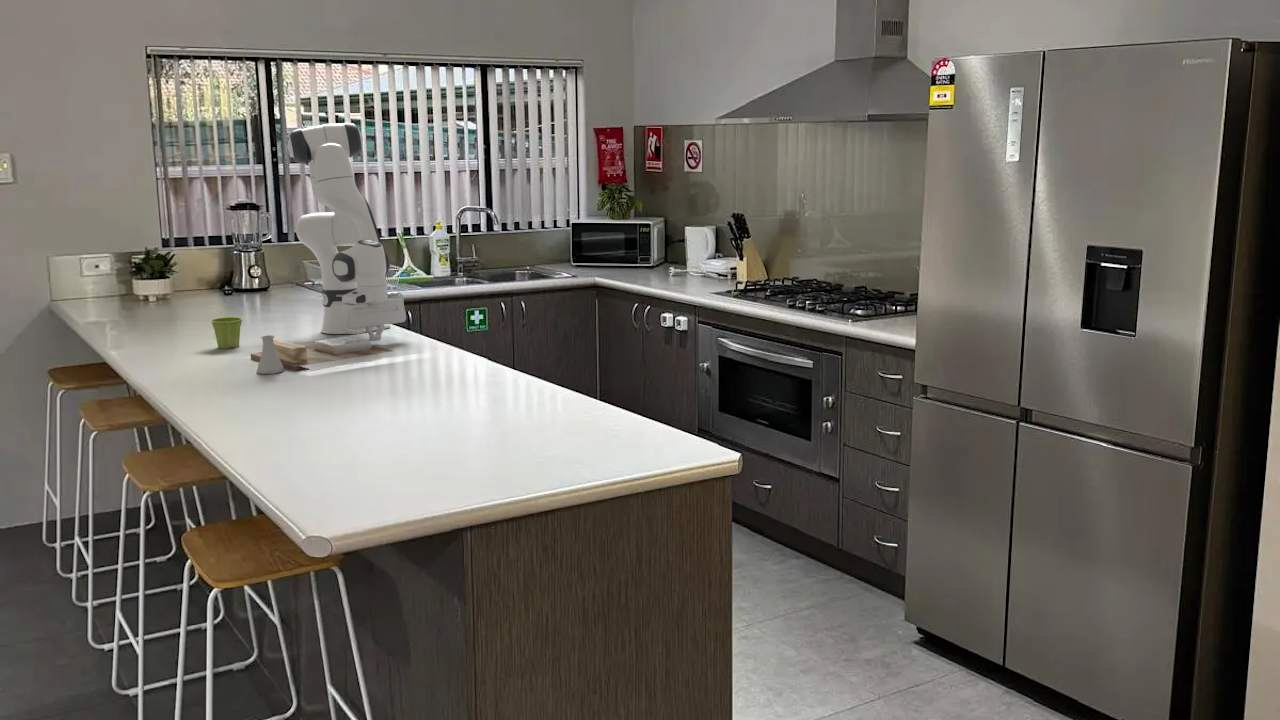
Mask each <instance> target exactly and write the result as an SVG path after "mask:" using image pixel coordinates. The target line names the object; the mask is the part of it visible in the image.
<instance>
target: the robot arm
mask: <svg viewBox="0 0 1280 720" xmlns="http://www.w3.org/2000/svg"><path fill="white" fill-rule="evenodd" d="M363 140H364V139H363V135H362V133H361V130H360V129H359V127H358V125H356V124H355V123H352V122H343V123H325V124H323V123H322V124H321V125H314V126H309V127H305V128H297V129H295V130H292V131H291V132H290V134H289V137H288V142H287V148H288V152H289V154H290V156H291V158H293V161H295V162H297V163H298V164H302V165H306V166H308V169H309V176H310V182H311V189H312V194H313V197H314V199H315V200H316V201H317V202H318V203H320V204H321V205H323V206H325V207H327V208H329V209H330V210H331V211H332V212H331V211H329V212H327V211H326V212H320V211H319V212H311V213H307V214H302V215H301V216H300V217H299V218H298V219H297V222H296V225H295V234H296V237H297V238H298V240H299V242H301V244H303V246H305V247H307V248H308V249H309V250H310V251H311V252H312V253H313V254H314V256H315V257H316V259H317V262H318V264H319V267H320V268H319V269H320V272H321V273H320V274H321V280H322V289H321V299H322V305H323V315H322V317H323V318H322V324H321V329H320V333H322V334H331V335H342V334H344V335H347V334H348V335H349V334H351V335H356V334H357V335H358V334H364V333H367V334H368V336H369V340H371V342H377V341H382V333H383V331H384V330H385V329H389V327H390V328H391V324H398V323H404V322H405V321H406V319H407V314H406V308H405V305H404V304H405V303H404V302H405V300H404V295H403V294H402V292H401V293H400V292H399V291H393V292H388V282H387V281H388V280H387V278H386V277H387V275H388V273H389V272H390V267H391V259H390V257H389V254H388V252H387V251H386V249H385V247H384V245H383V242H382V238H381V236H380V233H379V229H378V226H377V222H376V220H375V218H374V215H373V212H372V209H371V207H370V204H369V202H368V200H367V199H366V198H365V197H364V196H362V194H361V193H360V191H359V189H358V187H357V184H356V181H355V178H354V173H353V172H354V171H353V167H352V164H351V162H350V158H353V157H356V156H358V155H359V154H360V153H361V152H362V148H363V144H364V143H363V142H364V141H363ZM337 247H349V248H347V249H346V250H342V251H340V252H339V251H338V248H337ZM374 331H376V333H374Z"/></svg>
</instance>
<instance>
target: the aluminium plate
mask: <svg viewBox="0 0 1280 720" xmlns="http://www.w3.org/2000/svg"><path fill="white" fill-rule="evenodd" d="M313 345H314V349H315V350H319V351H323V352H326V353H330V354H334V355H335V354H341V353H348V352H354V351H361V350H367V349H372V347H371V345H372V341H371V340H370V339H366V338H362V337H357V336H354V335H353V336H352V335H348V336H339V337H334V338H333V337H332V338H326V339H319V340H313Z"/></svg>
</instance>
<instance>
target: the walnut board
mask: <svg viewBox="0 0 1280 720" xmlns="http://www.w3.org/2000/svg"><path fill="white" fill-rule="evenodd" d="M304 346H305V347H306V349H307V361H303V362H297V363H292V362H289V361H285V360H282V359H280V361H281V363H282V365H283V367H284V369H285V370H288V371H292V372H302V371H308V370H309V371H310V370H311V369H310V368H308V367H305V366H307V365H313V364H314V365H315V364H322V363H326V362H332V361H338V360H339V361H340V360H345V359H353V358H358V357H363V356H365V357H366V356H371V355H377V354H385V353H389V352H395V350H393V349H389V348H385V347H380V346H376V345H372V344H371V347H372V349H367V350H361V351H354V352H348V353H341V354H335V355H334V354H330V353H326V352H323V351H319V350H315V349H314V344H308V345H304ZM261 354H262V351H261V352H254V353H250V359H251V360H254V361H257V362H260V358H261Z"/></svg>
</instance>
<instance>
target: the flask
mask: <svg viewBox="0 0 1280 720" xmlns="http://www.w3.org/2000/svg"><path fill="white" fill-rule="evenodd" d="M260 337H261V340H262V351H261V352H262V354H261V358H260V361H258V362H259V363H258V366H257V369H256V371H255V372H256V374H259V375H260V374H263V375H273V374H278V373H282V372H284V371H285V370H286V369H285V368H284V367H283V365H282V363H281V361H280V359H279V357H278V355H277V352H276V350H275V347H274V343H273V340H274V338H275V336H274V335H270V334H269V335H263V336H260Z"/></svg>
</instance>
